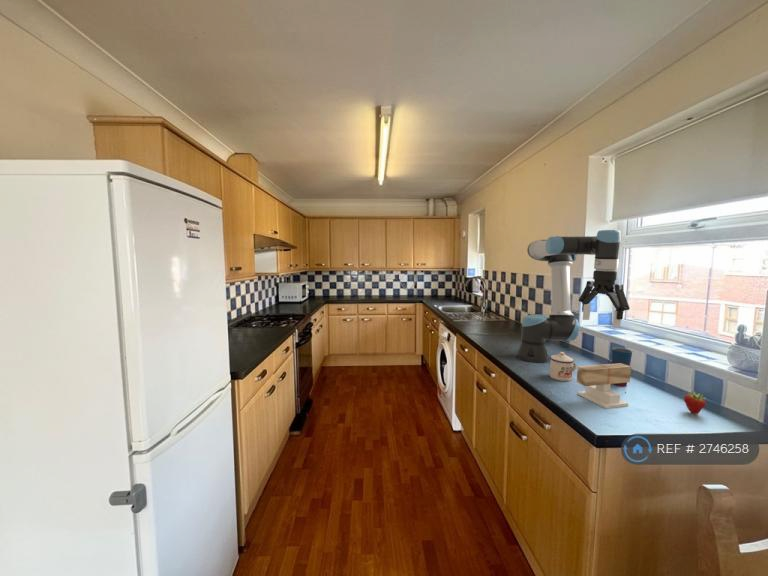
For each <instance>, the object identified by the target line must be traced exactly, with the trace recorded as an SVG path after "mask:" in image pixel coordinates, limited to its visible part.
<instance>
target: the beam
mask: <svg viewBox="0 0 768 576" xmlns="http://www.w3.org/2000/svg"><path fill="white" fill-rule="evenodd" d="M576 369H577V371H576V383H578V384H579V385H582V386H584V387H586V386H594V385H605V384H611V385H614V384H615V383H626V382H627V383H630V382H631V373H632V366H631V365H630V366H628V365H625V364H622V363H616V364H612V363H605V364H603V363H602V364H601V363H600V364H592V365H579V366H577V367H576Z"/></svg>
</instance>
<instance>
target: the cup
mask: <svg viewBox="0 0 768 576" xmlns="http://www.w3.org/2000/svg"><path fill="white" fill-rule="evenodd" d="M611 350H612V351H611V364H616V363H622V364H625V365H628V366H631V362H632V356H633V350H631V349H629V348H624V347H612V349H611ZM613 385H614V386H617V387H621V388H623V387H627V386H628V382H626V383H615V384H613Z"/></svg>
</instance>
